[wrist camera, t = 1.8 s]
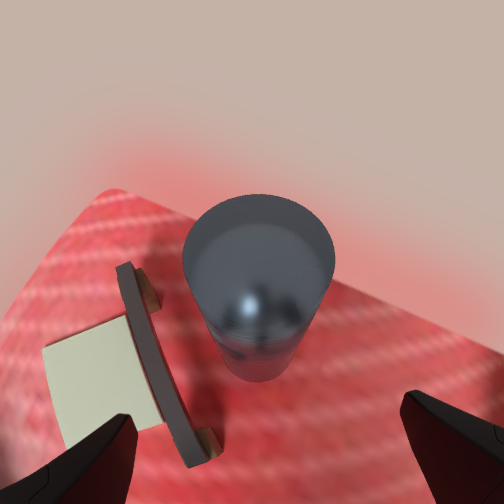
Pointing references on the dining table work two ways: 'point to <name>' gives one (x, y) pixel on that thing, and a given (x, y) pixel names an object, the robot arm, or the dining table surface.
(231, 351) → the canister
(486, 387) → the dining table surface
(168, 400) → the bar
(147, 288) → the posts
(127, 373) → the mat
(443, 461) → the robot arm
